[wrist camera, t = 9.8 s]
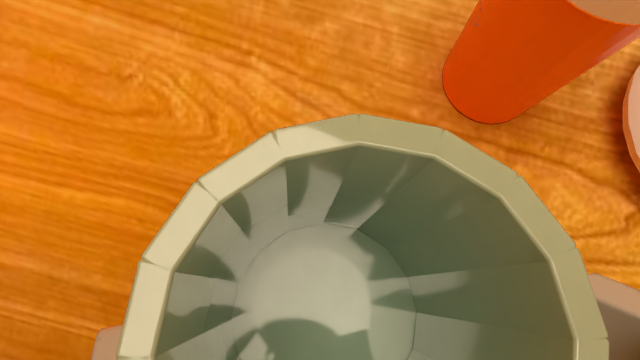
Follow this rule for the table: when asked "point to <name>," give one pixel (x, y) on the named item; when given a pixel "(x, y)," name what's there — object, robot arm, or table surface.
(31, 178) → the table surface
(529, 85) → the shaker bottle
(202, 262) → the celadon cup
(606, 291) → the robot arm
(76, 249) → the table surface
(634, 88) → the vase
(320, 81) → the table surface
